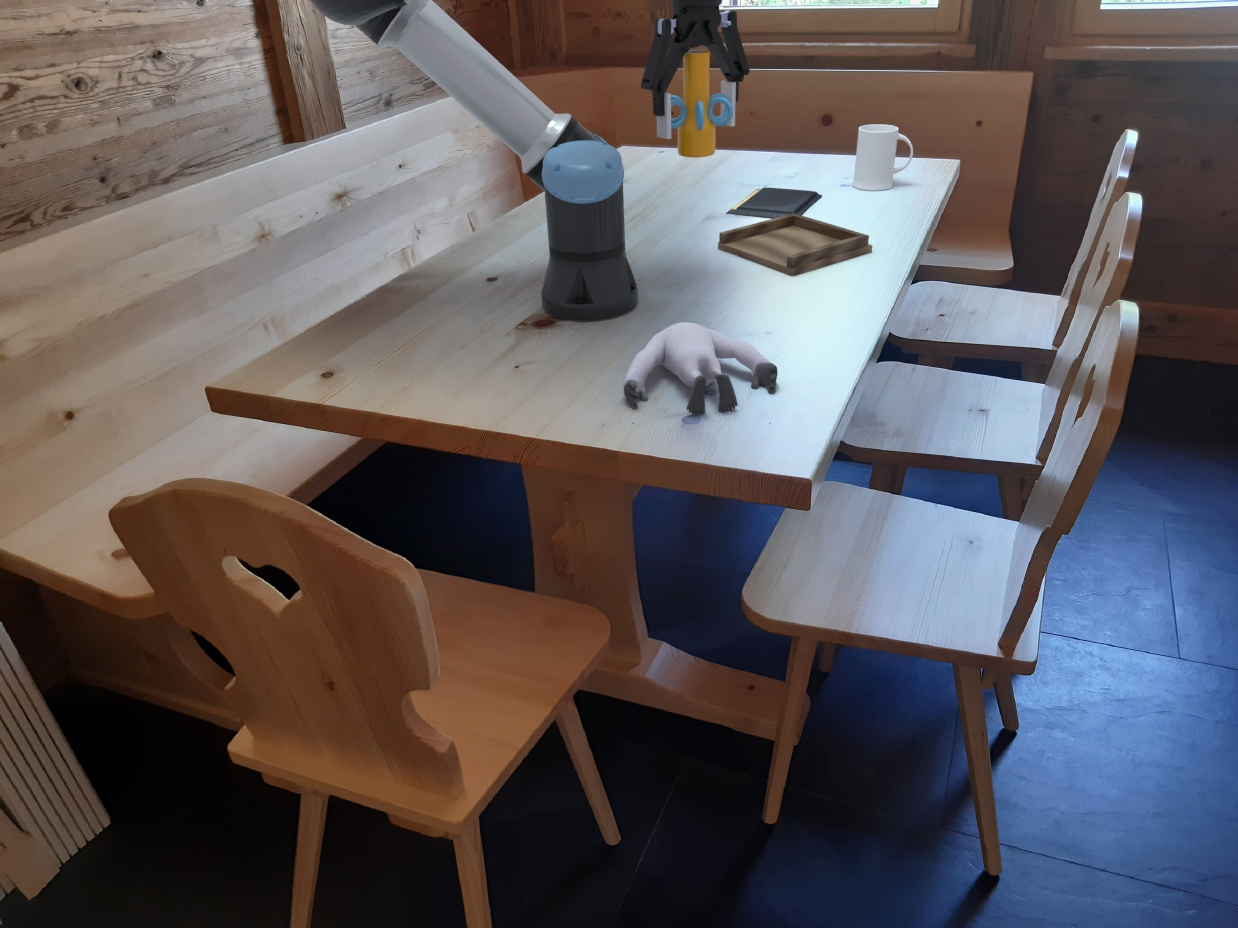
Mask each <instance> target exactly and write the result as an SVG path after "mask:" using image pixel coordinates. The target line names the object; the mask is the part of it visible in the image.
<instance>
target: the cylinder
mask: <svg viewBox="0 0 1238 928" xmlns="http://www.w3.org/2000/svg"><path fill="white" fill-rule="evenodd" d="M710 54H711V52H710V51H709V49H693V50H690V49H689V51H688V52H687V53H685V55H684V57H683V59H682V60H683V61H682V63H683V64H682V67H683V68H682V69H683V71H682V72H683V73H682V75H683V77H682V79H683V84H682V85H683V98H681V97H680V96H678V95H674V94H671V108H672V107H673V106H679V107H680V114H679V115H678V117H674V118H673V117H671V130H672V129H675V130H676V129H677V154H678V155H679V156H680V157H684V158H692V159H693V158H696V159H697V158H706V157H710V156H713V155H715V153H716V138H717V137H716V131H717V130H716V127H724V126H727V124H728V123H729V122H730V121H731V119H732V117H733V107H732V105H731V103H730V102H729V99H728V97H727V96H726V95H725V94H722V93H721V92H718V93H714V94H712V96H711V95H710V94H711V93H710V92H711V91H710V85H711V84H710V83H711V81H710V78H711V76H710V73H711V71H710V70H711V69H710V68H711V66H710V64H711V63H710V62H711V60H710V59H711V55H710ZM719 103H720V104H721V103H723V104H725V109H724V112H723V113H722V114H721V113H720V115H717V116H716V115H715V114H714V112H713V110H714V109H713V108H714V106H715V105H716V104H719ZM727 115H728V116H727ZM726 116H727V118H726V119H725V120H723V119H724V118H725V117H726ZM722 120H723V121H722Z"/></svg>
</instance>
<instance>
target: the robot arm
mask: <svg viewBox="0 0 1238 928" xmlns="http://www.w3.org/2000/svg"><path fill="white" fill-rule="evenodd" d="M309 1H310V3H312V5H313V6H314V8H315V9H316V10H317V11H318V12H320V13H321V15H322V16H324V17H326V18H327V19H329V20H330V21H332V22H334V23H338V24H341V25H343V26H351V27H353V26H355V27H356V28H357V29H358V30H359V31H360V32H362V34H364V35H365V37H367V38H369V39H370V40H371V41H372V42H373V43H374V44H375V45H376V46H377V47H379V48H383V47H385V48H387V47H390V48H391V47H392V48H395V49H396V50H398V51H399V52H400V53H402V55H403V56H405V57H406V58H407V59H408V60H409V61H411V63H413V64H414V66H416V67H417V68H418V69H420V70H421V71H422V72H423V73H424V74H426V76H427V77H429V78H430V79H431V80H432V81H434V82H435V84H436V85H438V86H439V87H440V88H441V89H442V90H443V91H445V93H446V94H447V95H449V96H450V97H451V98H452V99H453V100H454V101H456V102H457V103H458V104H459V105H460V106H461V107H462V108H463V109H465V110H466V111H467V112H468V113H469V114H471V115H472V117H474V118H475V119H476V120H478V121H479V123H481V124H482V125H483V126H484V127H485V128H486V129H488V130H489V131H490V132H491V133H492V134H493V135H494V136H496V137H497V138H498V139H499V140H500V141H501V142H502V143H503V144H505V145H506V146H507V147H508V148H509V149H510V150H512V152H514V153H515V154H516V155H517V156H518V157H519V158H520V160H521V168H522V169H521V170H522V171H521V172H522V173H523V174H524V175H526V177H527V178H529V179H530V180H531V181H532V182H533V183H534V184H535V185H536V186H538V187H539V188H540V189H541V190H542V191H543V192H544V202H545V213H546V215H545V216H546V227H547V239H548V240H547V241H548V251H549V252H548V253H549V259H548V263H547V267H546V272H545V275H544V281H543V285H542V288H541V294H540V295H541V305H542V309H543V310H544V312H546V313H547V314H549V315H550V316H552V317H555V318H558V319H562V320H567V321H568V320H569V321H575V322H576V321H578V322H579V321H582V322H585V321H588V322H589V321H590V322H591V321H603V320H607V319H613V318H616V317H619V316H622V315H624V314H628V313H629V312H632V311H633V310H634V309H635V308H636V307H637V305H638V303H639V288H638V284H637V282H636V279H635V276H634V274H633V273H634V272H633V271H632V268H631V265H630V263H629V260H628V257H627V253H626V233H625V231H626V230H625V204H624V203H625V202H624V198H625V197H624V178H625V169H624V168H625V167H624V165H623V159H622V156H621V153H620V152H619V151H618V149H617V148H615V147H614V146H612V145H610V144H609V143H608V142H607V141H606V140H604V138H602V137H601V136H598V135H597V134H596V133H592V132H591V131H589V130H588V129H587V128H586V127H585V126H584V125H583V124H581V123H580V122H579V120H577V119H576V118H575V117H573V115H572V114H570V113H555V112H554V111H553V110H552V109H551V108H549V106H547V105H546V104H545V103H544V101H542V100H541V99H539V97H537V96H536V94H535V93H534V92H532V91H531V90H530V89H529V88H528V87H526V85H524V84H523V82H521V81H520V80H519V79H518V77H516V76H515V75H514V74H513V73H512V72H511V71H509V70H508V69H507V68H506V67H505V66H504V65H503V64H502V63H500V61H498V60H497V58H495V57H494V56H493V55H492V54H491V53H490V52H488V50H486V48H484V47H483V46H482V45H481V44H480V43H479V42H478V41H477V40H476V39H475V38H474V37H472V36H471V34H469V33H468V32H467V30H465V29H464V28H463V27H462V26H461V25H460V24H458V22H456V21H455V19H453V18H452V17H451V16H450V15H449V14H447V12H445V11H444V10H443V9H442V8H441V7H440V6H439V5H438V4H437V3H435V2H434V1H433V0H309ZM722 3H723V0H670V4H671V6H672V10H673V13H672V14H673V15H672V18H670V19H669V18H663V17H662V18H661V17H657V18H656V19H655V20H654V36H653V39H652V40H653V41H652V44H651V47H650V51H649V54H648V57H647V61H646V65H645V67H644V72H643V75H642V78H641V80H640V81H641V82H640V88H641V89H642V90H646V91H648V92H649V93H650V92H651V95H652V113H653V116H655V117H656V137H657V138H661V139H665V140H669V139H672V128H671V118H672V107H671V95H672V94H671V93H670V92H667V90H668V88H669V86H670V84H671V82H672V80H673V78H674V76H675V75H676V72H677V70H678V68H679V67H680V65H681V63H682V62H683V61H682V60H683V57H684V55H685V53H687V52H688V51H690V49H693V48H694V49H695V48H698V47H706V48H707V50H708V51H710V54H711V56H712V57H713V59H714V61H715V63H716V64H717V66H718V68H719V69H720V71H721V73H722V75H723V76H724V78H725V80H721V81H720V93H722V94H725V95H726V96H727V97H728V99H729V102H730V103H731V105H732V107H733V117H732V119H731V121H730V122H729V123H728V124H727V125H726V126H727V127H735V126H736V103H738V101H739V89H740V87H739V86H740V85H739V84H740V83H741V82H743V81H744V80H745V76H748V75H750V72H751V71H750V70H751V69H750V66H749V64H748V63H749V62H748V60H747V57H746V52H745V49H744V45H743V42H742V38H741V36H740V32H739V29H738V14H737V11H735V10H724V9H723V10H721V11H720V6H721V5H722ZM719 27H720V30H721V33H720V32H719V31H718V28H719ZM673 33H674V35H673V36H672V34H673ZM721 34H722V36H721ZM671 38H672V39H671ZM724 43H725V45H724ZM724 109H725V104H723V103H720V115H721V114H722V113H723V112H724ZM727 116H728V115H727ZM727 116H726V117H725V118H724V119H723V120H725V119H726V118H727ZM723 120H722V121H723Z"/></svg>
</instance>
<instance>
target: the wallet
mask: <svg viewBox="0 0 1238 928" xmlns="http://www.w3.org/2000/svg"><path fill="white" fill-rule="evenodd" d="M822 197H823V195H822V194H820V193H818V191H815V190H814V191H813V190H803V189H792V188H780V187H765V186H764V187H762V188H756V189H755V190H754V191H753V192H752V193H750V194H749V195H748V196H746V197H745V198H743V199H742V200H741V201H740V202H738V203H737V204H736V205H735V206H733V207H732V208H730V209H729V210H728V211H727V212H725V214H726V215H735V216H741V217H742V216H744V217H752V218H762V219H769V220H770V219H774V218H778V217H781V216H785V215H789V214H793V213H795V214H798V215H802V216H804V214H805V213H806V212H807V211H808V210H809V209H810V208H811V207H812V206H814V205H815V204H816V203H817V202H818V201H819V200H821V199H822Z"/></svg>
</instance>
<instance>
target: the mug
mask: <svg viewBox="0 0 1238 928" xmlns="http://www.w3.org/2000/svg"><path fill="white" fill-rule="evenodd" d="M857 132H858V134H857V141H856V142H857V143H856V153H855V155H856V157H855V165H854V173H853V174H854V175H853V181H852V183H851V184H852V185H851V186H852V187H853V188H855V189H857V190H861V191H865V192H866V191H868V192H879V191H880V192H881V191H888V190H890V189H892V188H893V187H894V174H898V173H899V172H902V171H904V170H905V169H906V168H907V167H908V166H909V165H910V163H911V162H912V159H913V155H914V148H913V144H912V142H911V141H910V139H909V138H908V137H907V136H906V135H904V134H901V133H900V132H899V127H898V126H896V125H890V124H884V123H883V124H878V123H877V124H876V123H875V124H873V123H872V124H864V125H860V126H859V127H858V131H857ZM898 140H899V141H903V142H906V144H907V145H908V147H909V149H910V154H909V157H908V160H907V161H906V163H904V164H903V165H901V166H899V167H895V163H896V156H897V155H896V154H897V153H896V152H897V146H898Z"/></svg>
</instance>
